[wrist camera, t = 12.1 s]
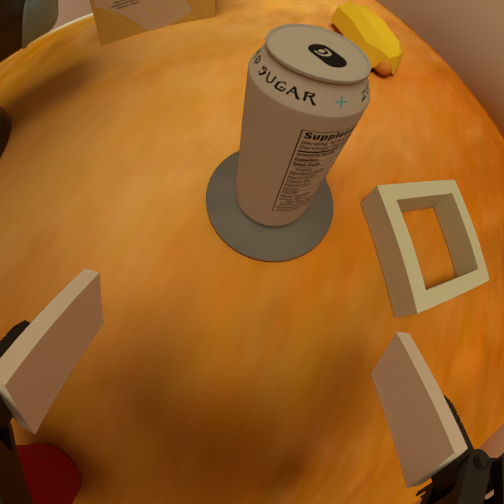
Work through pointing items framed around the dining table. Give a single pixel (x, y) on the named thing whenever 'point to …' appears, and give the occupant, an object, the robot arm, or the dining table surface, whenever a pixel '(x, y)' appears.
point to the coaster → (259, 235)
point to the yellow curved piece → (369, 36)
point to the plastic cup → (49, 474)
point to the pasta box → (145, 15)
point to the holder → (402, 251)
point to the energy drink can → (297, 118)
